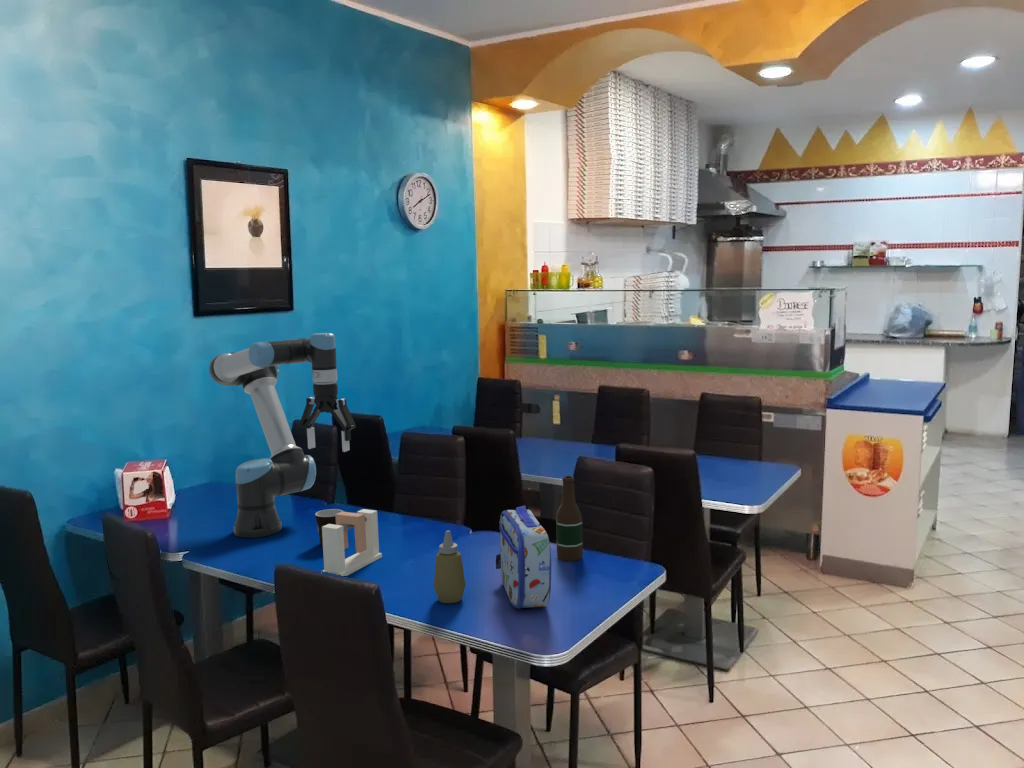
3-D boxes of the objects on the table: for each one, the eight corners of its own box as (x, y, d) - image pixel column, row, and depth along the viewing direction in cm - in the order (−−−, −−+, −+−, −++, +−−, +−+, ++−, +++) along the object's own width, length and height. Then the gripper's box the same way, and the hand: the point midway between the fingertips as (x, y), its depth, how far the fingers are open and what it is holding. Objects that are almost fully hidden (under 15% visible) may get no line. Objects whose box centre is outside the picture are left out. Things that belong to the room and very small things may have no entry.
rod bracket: (321, 574, 232) (318, 526, 230) (362, 554, 249) (360, 508, 247) (341, 578, 229) (339, 529, 227) (382, 557, 246) (379, 511, 244)
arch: (337, 549, 238) (335, 514, 237) (344, 546, 241) (341, 511, 240) (360, 552, 235) (358, 516, 234) (366, 549, 238) (364, 513, 236)
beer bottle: (586, 554, 243) (584, 474, 240) (579, 563, 236) (578, 480, 233) (560, 552, 246) (559, 473, 243) (553, 560, 239) (551, 479, 236)
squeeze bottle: (434, 594, 215) (431, 527, 213) (465, 593, 216) (463, 525, 214) (434, 606, 207) (431, 536, 205) (466, 605, 208) (464, 535, 206)
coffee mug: (338, 549, 254) (336, 517, 253) (312, 547, 256) (310, 516, 254) (353, 537, 265) (351, 506, 264) (328, 536, 267) (326, 506, 266)
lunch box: (493, 578, 226) (491, 500, 223) (530, 575, 228) (529, 497, 225) (515, 618, 199) (513, 529, 196) (557, 614, 201) (555, 525, 198)
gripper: (285, 382, 261) (289, 449, 264) (350, 385, 250) (353, 454, 253) (301, 379, 268) (305, 444, 271) (365, 382, 257) (368, 449, 259)
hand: (328, 449), depth 262 cm, fingers open, 13 cm apart
